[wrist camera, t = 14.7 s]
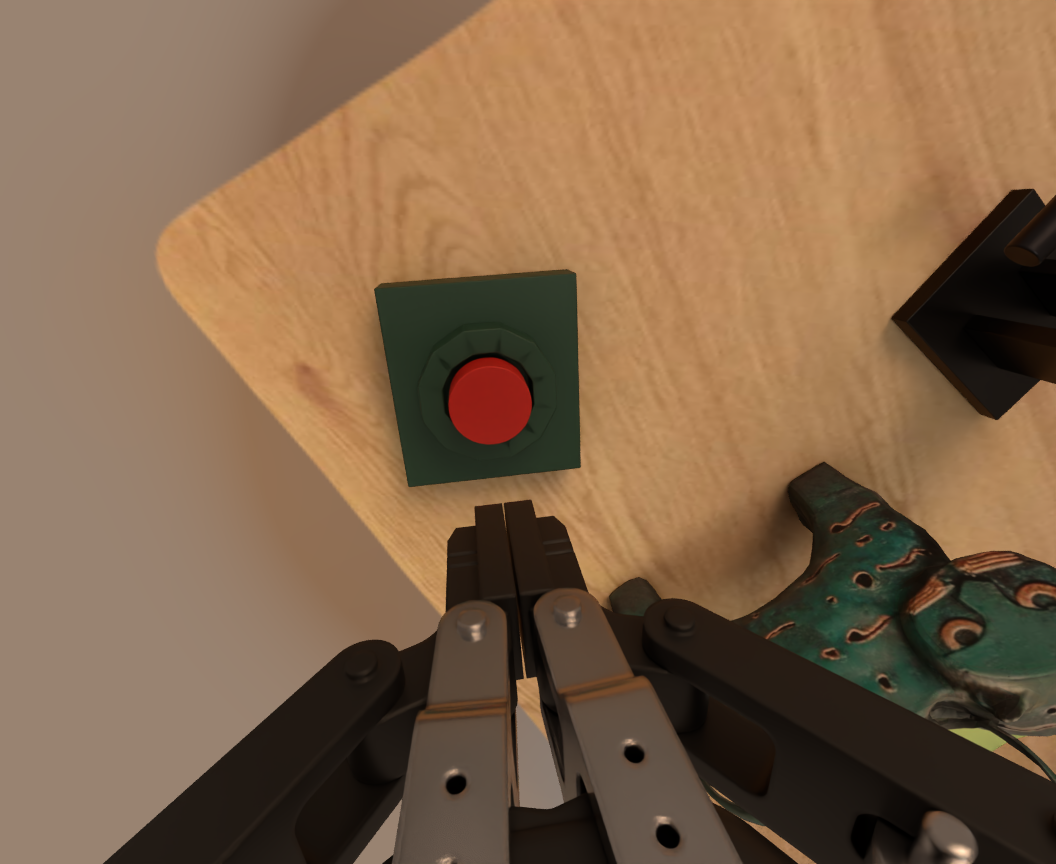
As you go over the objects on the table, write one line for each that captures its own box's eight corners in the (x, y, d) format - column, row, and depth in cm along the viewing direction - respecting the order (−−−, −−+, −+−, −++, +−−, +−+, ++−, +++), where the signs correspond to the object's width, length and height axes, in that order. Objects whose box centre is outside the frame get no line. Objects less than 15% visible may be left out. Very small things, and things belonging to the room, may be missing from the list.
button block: (380, 283, 27) (367, 293, 23) (567, 269, 28) (584, 276, 24) (411, 470, 31) (405, 503, 27) (573, 452, 32) (588, 482, 28)
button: (444, 360, 25) (443, 370, 23) (524, 353, 25) (529, 362, 24) (454, 435, 27) (453, 449, 25) (529, 427, 27) (534, 440, 25)
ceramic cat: (841, 435, 34) (1292, 688, 16) (867, 503, 36) (1283, 790, 18) (587, 585, 36) (721, 963, 18) (628, 639, 39) (783, 1020, 20)
